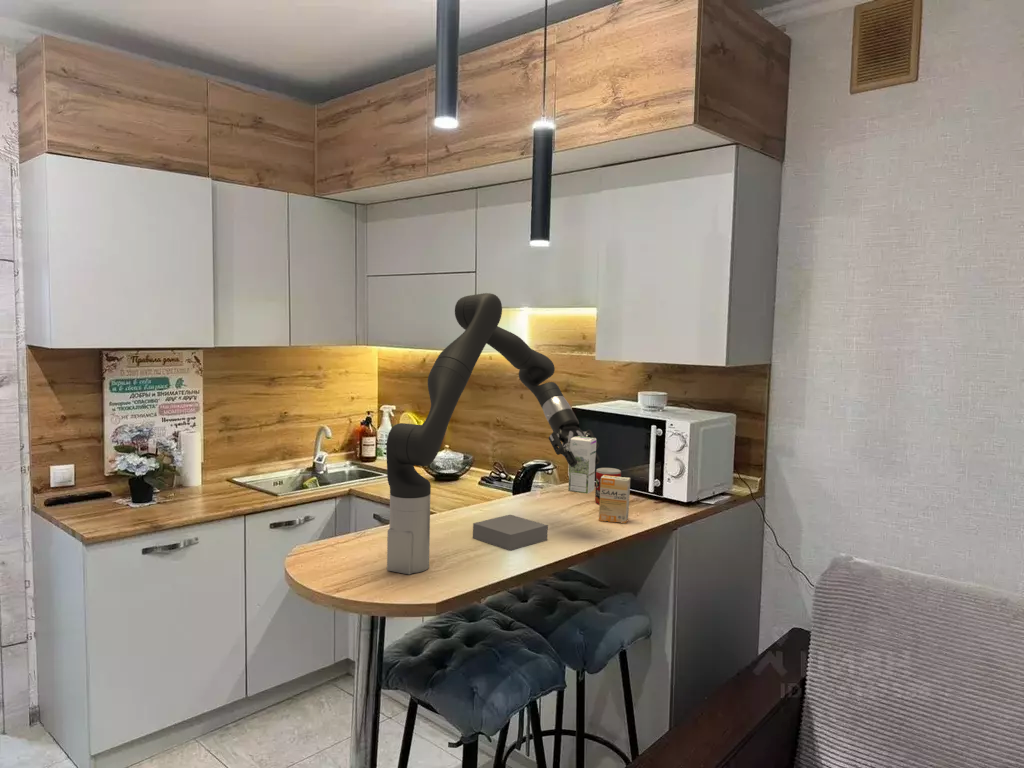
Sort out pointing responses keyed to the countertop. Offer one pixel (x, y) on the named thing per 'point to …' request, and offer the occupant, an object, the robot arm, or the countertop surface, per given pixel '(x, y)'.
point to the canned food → (599, 474)
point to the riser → (510, 532)
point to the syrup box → (582, 464)
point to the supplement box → (614, 499)
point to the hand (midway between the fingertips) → (586, 464)
